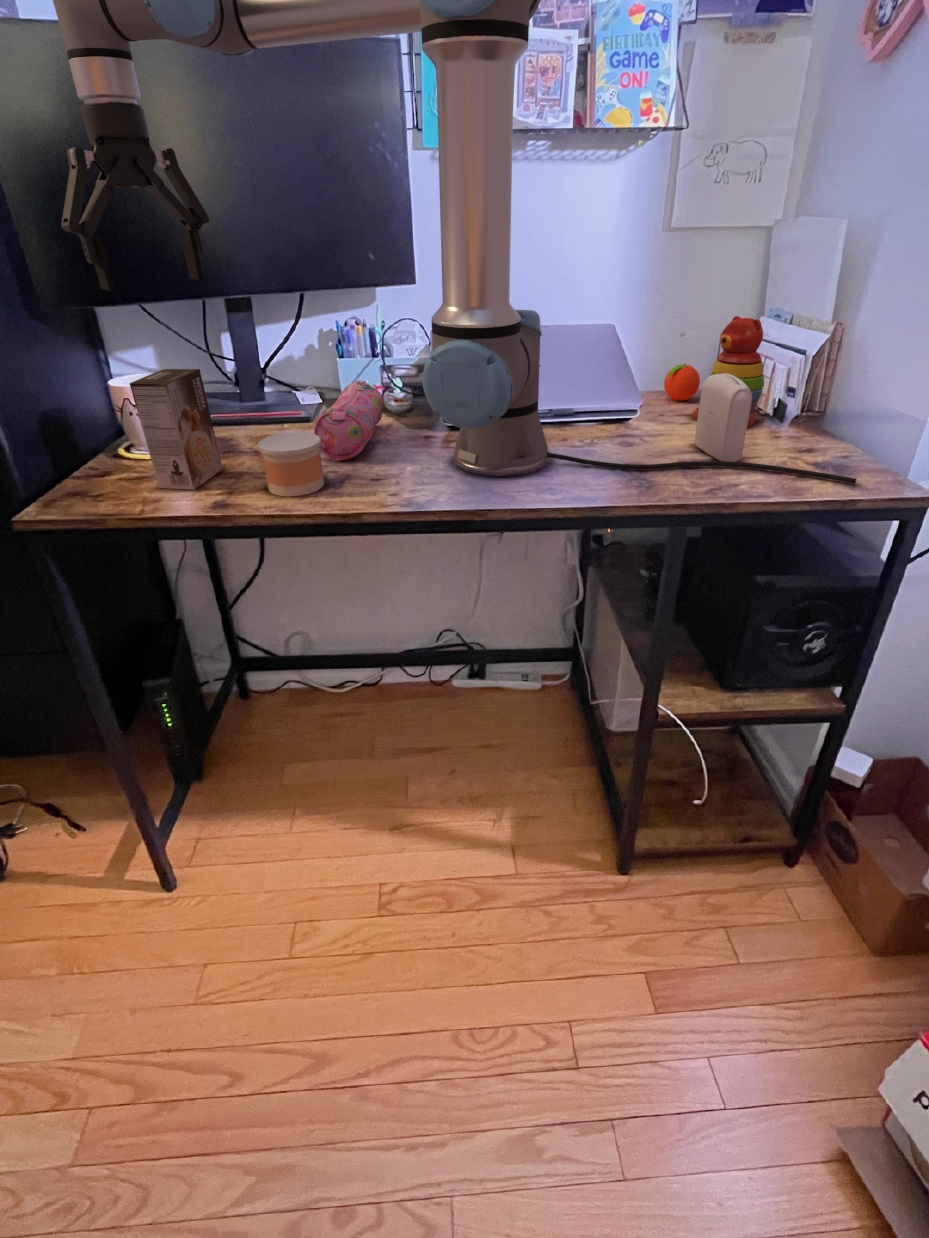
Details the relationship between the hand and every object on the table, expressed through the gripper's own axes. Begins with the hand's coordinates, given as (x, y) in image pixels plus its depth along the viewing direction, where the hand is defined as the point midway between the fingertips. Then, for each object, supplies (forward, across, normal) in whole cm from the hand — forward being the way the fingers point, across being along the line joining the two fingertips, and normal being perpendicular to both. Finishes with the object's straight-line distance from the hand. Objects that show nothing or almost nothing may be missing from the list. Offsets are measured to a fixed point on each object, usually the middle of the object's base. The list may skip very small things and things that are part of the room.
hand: (154, 284), depth 102 cm
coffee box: (+28, +4, +4) cm, 28 cm away
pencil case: (+28, -24, +11) cm, 38 cm away
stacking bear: (+28, -76, +57) cm, 99 cm away
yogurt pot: (+28, -5, +20) cm, 35 cm away
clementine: (+28, -83, +43) cm, 98 cm away
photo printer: (+28, -58, +64) cm, 90 cm away
